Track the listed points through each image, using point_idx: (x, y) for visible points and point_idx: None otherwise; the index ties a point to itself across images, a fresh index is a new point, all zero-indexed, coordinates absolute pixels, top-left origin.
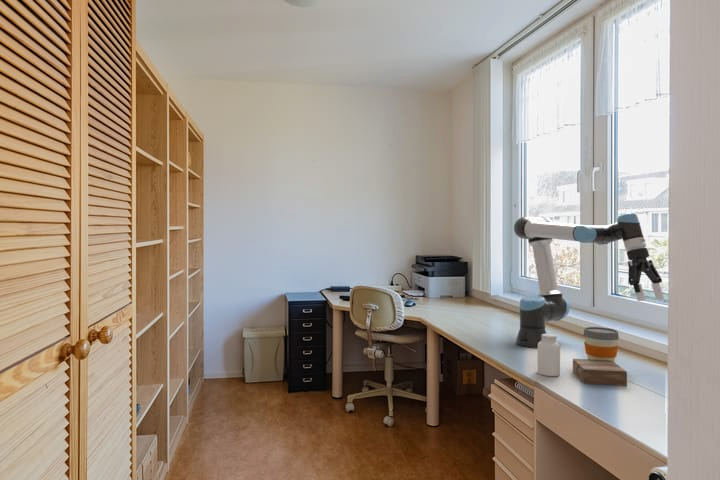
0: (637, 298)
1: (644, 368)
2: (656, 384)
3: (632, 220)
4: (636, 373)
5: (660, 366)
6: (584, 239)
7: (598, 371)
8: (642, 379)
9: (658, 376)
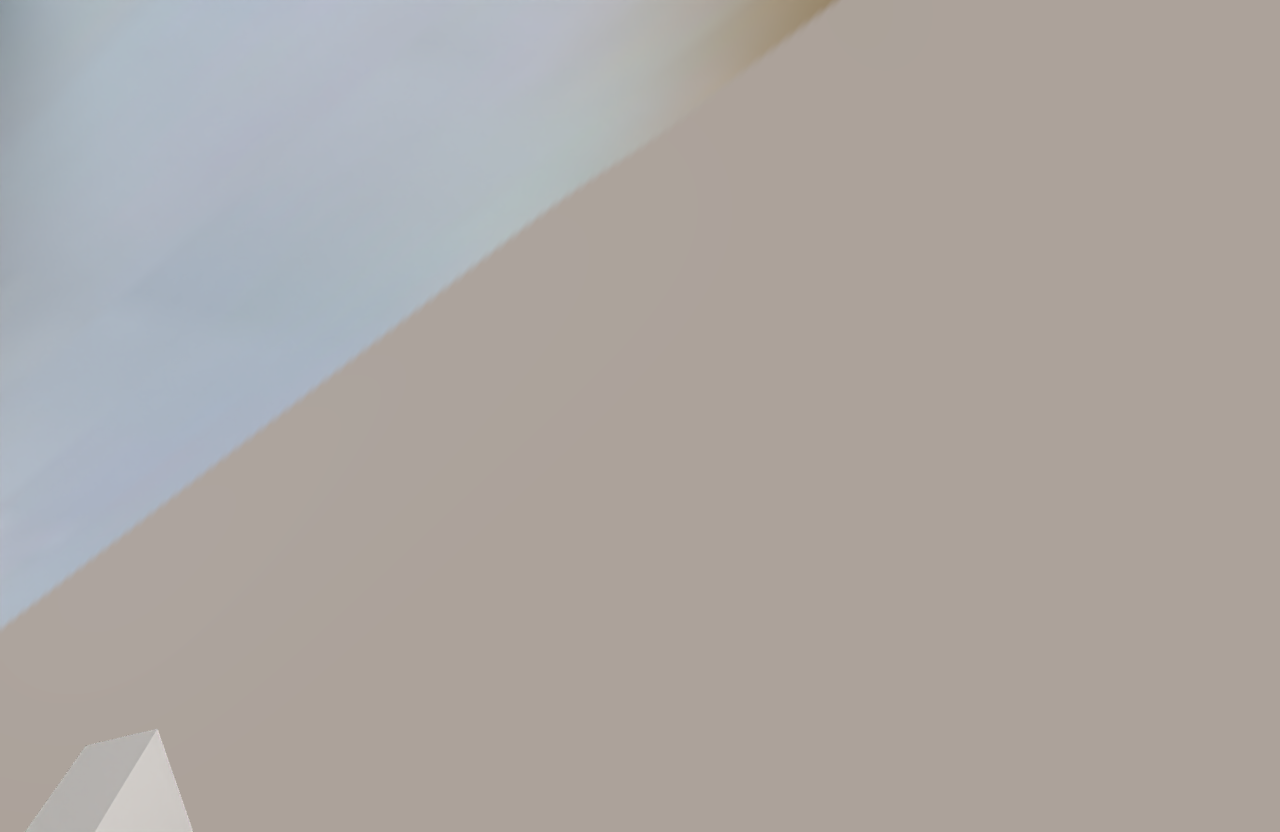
0: (52, 820)
1: (428, 101)
2: (64, 548)
3: None
4: (144, 231)
5: (712, 95)
6: None
7: None
8: (38, 408)
9: (314, 375)
